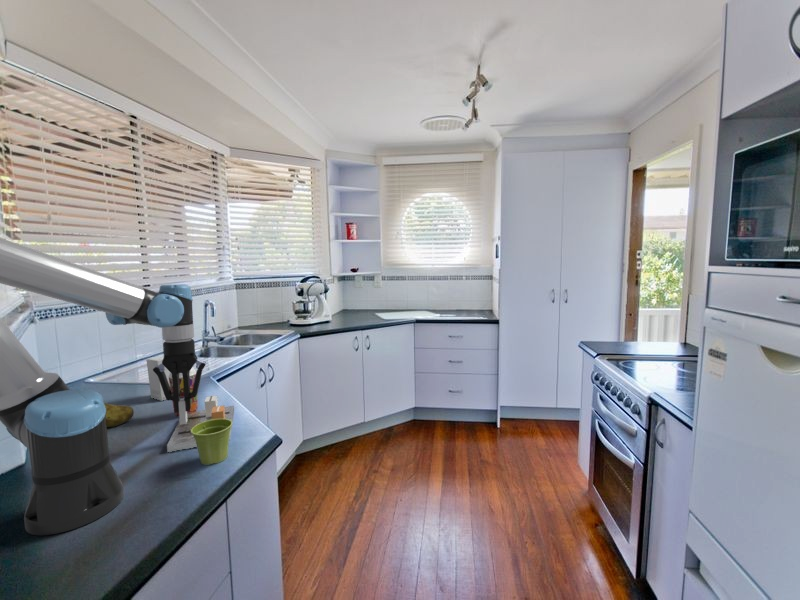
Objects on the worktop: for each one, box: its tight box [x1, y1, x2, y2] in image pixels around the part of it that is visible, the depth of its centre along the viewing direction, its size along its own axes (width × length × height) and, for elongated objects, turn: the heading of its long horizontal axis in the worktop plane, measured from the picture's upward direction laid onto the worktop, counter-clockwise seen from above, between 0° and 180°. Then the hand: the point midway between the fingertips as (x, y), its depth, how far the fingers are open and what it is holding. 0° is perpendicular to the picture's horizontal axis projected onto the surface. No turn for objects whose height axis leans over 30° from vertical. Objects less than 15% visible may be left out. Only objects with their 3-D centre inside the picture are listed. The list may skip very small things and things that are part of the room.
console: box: [166, 405, 235, 453], centre depth 112 cm, size 15×24×2 cm, turn 21°
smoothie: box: [168, 366, 198, 418], centre depth 125 cm, size 8×8×20 cm
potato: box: [104, 402, 135, 428], centre depth 117 cm, size 8×13×8 cm, turn 130°
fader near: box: [211, 405, 226, 420], centre depth 109 cm, size 3×5×5 cm, turn 21°
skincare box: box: [146, 354, 170, 402], centre depth 142 cm, size 8×7×16 cm
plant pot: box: [191, 419, 233, 466], centre depth 94 cm, size 9×9×9 cm
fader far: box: [204, 395, 219, 418], centre depth 118 cm, size 3×5×5 cm, turn 21°
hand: (183, 422), depth 105 cm, fingers closed
